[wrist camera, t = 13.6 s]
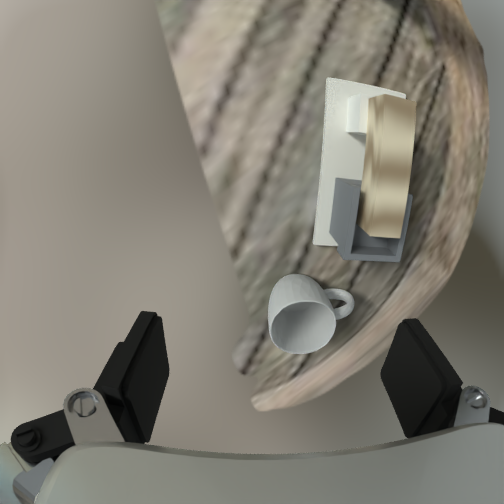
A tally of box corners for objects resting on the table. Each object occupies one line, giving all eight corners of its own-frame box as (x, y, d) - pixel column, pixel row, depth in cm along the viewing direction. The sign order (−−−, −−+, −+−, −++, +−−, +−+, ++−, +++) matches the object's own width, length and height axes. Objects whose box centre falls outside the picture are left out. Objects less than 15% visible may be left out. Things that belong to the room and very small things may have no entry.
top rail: (368, 98, 30) (385, 93, 26) (396, 104, 30) (416, 101, 26) (356, 223, 36) (369, 236, 31) (383, 225, 36) (399, 238, 32)
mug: (269, 318, 48) (273, 358, 39) (262, 270, 45) (264, 305, 36) (344, 307, 48) (361, 344, 38) (343, 258, 44) (365, 289, 35)
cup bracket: (326, 78, 35) (345, 64, 26) (402, 94, 35) (434, 88, 26) (312, 242, 43) (326, 268, 35) (384, 246, 44) (410, 271, 35)
